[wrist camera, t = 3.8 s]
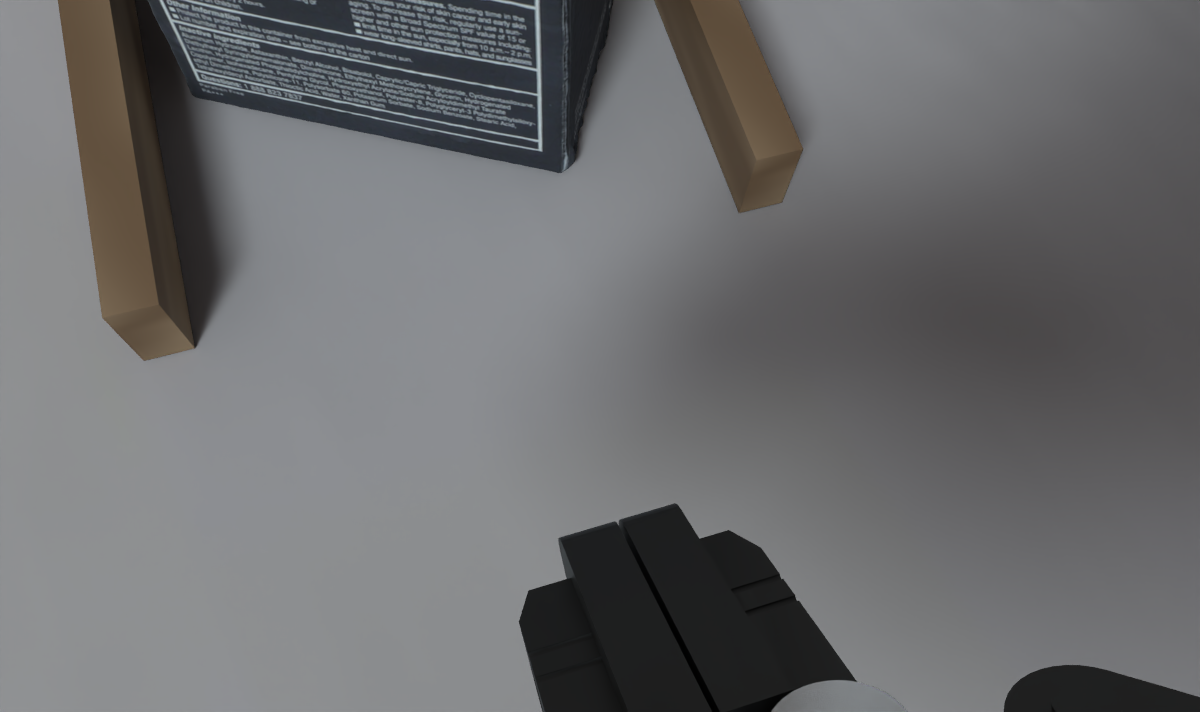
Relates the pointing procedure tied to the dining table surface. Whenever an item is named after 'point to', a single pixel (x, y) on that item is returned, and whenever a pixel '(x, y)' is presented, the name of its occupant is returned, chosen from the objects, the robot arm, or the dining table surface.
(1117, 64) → the dining table surface
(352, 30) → the small box
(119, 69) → the walnut tunnel
